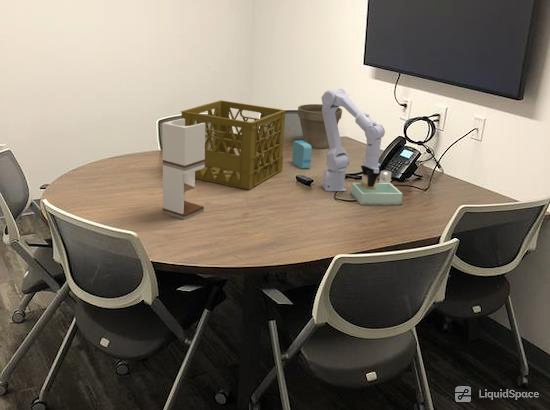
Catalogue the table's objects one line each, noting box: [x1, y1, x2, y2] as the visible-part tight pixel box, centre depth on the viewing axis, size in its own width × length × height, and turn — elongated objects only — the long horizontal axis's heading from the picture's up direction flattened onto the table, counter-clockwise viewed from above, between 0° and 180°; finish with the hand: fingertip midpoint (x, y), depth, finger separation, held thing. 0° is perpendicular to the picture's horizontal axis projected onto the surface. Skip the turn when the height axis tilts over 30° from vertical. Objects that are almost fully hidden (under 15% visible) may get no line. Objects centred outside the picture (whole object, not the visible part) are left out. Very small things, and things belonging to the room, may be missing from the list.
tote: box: [350, 182, 403, 206], centre depth 248 cm, size 18×14×5 cm
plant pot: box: [297, 103, 343, 149], centre depth 327 cm, size 25×25×22 cm
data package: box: [291, 140, 313, 170], centre depth 288 cm, size 12×4×12 cm, turn 24°
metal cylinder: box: [378, 169, 392, 183], centre depth 265 cm, size 5×5×7 cm
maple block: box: [360, 174, 378, 190], centre depth 246 cm, size 5×5×5 cm
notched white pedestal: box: [161, 118, 206, 221], centre depth 215 cm, size 11×11×35 cm
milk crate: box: [180, 99, 287, 191], centre depth 266 cm, size 36×35×30 cm
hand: (368, 184), depth 246 cm, fingers closed on maple block, 5 cm apart
